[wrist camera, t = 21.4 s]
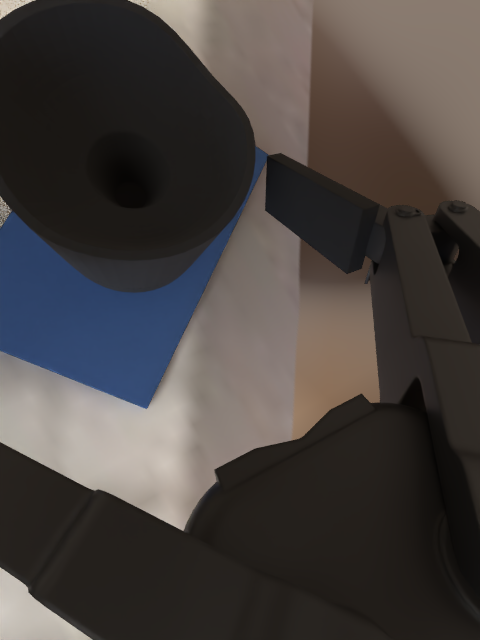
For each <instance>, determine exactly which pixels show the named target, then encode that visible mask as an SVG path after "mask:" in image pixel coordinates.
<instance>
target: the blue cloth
mask: <svg viewBox="0 0 480 640" xmlns="http://www.w3.org/2000/svg"><path fill="white" fill-rule="evenodd" d="M255 152H256V161H255V168H254V175H253V178H252V182H251V185H250V189H249V191H248V193H247V196H246V198H245V200H244V202H243V204H242V206H241V207H240V209H239V210H238V212H237V213H236V215H235V216H234V218H233V219H232V220H231V221H230V222H229V223H228V225H227V226H226V227H225V228H224V229H223V230H222V231H221V233H220V234H219V235H218V236H217V237H216V238H215V239H214V240H213V242H212V243H211V244H210V245H209V246H208V247H207V248H206V249H205V251H204V252H203V253H202V254H201V255H200V256H199V257H198V258H197V260H196V261H195V262H194V263H193V264H192V265H191V266H190V267H189V268H188V269H187V270H186V271H185V272H184V273H183V274H182V275H181V276H180V277H178V278H177V279H176V280H174V281H173V282H171V283H170V284H168V285H166V286H163V287H161V288H158V289H155V290H152V291H147V292H137V293H130V292H121V291H115V290H112V289H109V288H105V287H103V286H101V285H99V284H96V283H94V282H93V281H91V280H90V279H88V278H86V277H85V276H84V275H82V274H81V273H80V272H79V271H77V270H76V269H75V268H74V267H72V266H71V265H70V264H69V263H68V262H66V261H65V260H64V259H63V258H62V257H61V256H60V255H59V254H58V253H57V252H56V251H54V250H53V249H52V248H51V247H50V246H49V245H48V244H47V243H46V242H45V241H43V240H42V239H41V238H40V237H39V236H38V235H37V234H36V233H35V232H34V231H32V230H31V229H30V228H29V227H28V226H27V225H26V224H25V223H24V222H23V221H22V220H21V219H20V218H19V217H18V216H17V215H16V214H15V213H14V212H13V211H12V212H11V213H10V215H9V216H8V218H7V219H6V221H5V222H4V224H3V225H2V227H1V228H0V351H2V352H5V353H7V354H10V355H12V356H15V357H17V358H20V359H22V360H25V361H27V362H30V363H32V364H35V365H37V366H40V367H42V368H45V369H47V370H50V371H52V372H55V373H57V374H60V375H62V376H65V377H67V378H70V379H72V380H75V381H78V382H80V383H83V384H85V385H88V386H90V387H93V388H95V389H98V390H100V391H103V392H105V393H108V394H110V395H113V396H115V397H118V398H120V399H123V400H125V401H128V402H130V403H133V404H135V405H138V406H140V407H143V408H145V409H147V408H148V406H149V404H150V402H151V400H152V397H153V395H154V393H155V391H156V389H157V387H158V385H159V383H160V381H161V379H162V377H163V375H164V373H165V370H166V368H167V366H168V364H169V362H170V360H171V358H172V356H173V354H174V352H175V350H176V348H177V346H178V343H179V341H180V339H181V337H182V335H183V333H184V331H185V329H186V327H187V325H188V323H189V321H190V319H191V316H192V314H193V312H194V310H195V308H196V306H197V304H198V302H199V300H200V298H201V296H202V294H203V292H204V289H205V287H206V285H207V283H208V281H209V279H210V277H211V275H212V273H213V271H214V269H215V267H216V265H217V262H218V260H219V258H220V256H221V254H222V252H223V250H224V248H225V246H226V244H227V242H228V240H229V238H230V235H231V233H232V231H233V229H234V227H235V225H236V223H237V221H238V219H239V217H240V215H241V213H242V211H243V208H244V206H245V204H246V202H247V200H248V198H249V196H250V194H251V192H252V190H253V188H254V186H255V183H256V181H257V179H258V177H259V175H260V173H261V171H262V169H263V167H264V165H265V163H266V161H267V156H269V155H268V154H266V153H265V152H263V151H262V150H260V149H259V148H257V147H256V146H255Z"/></svg>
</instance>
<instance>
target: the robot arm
mask: <svg viewBox="0 0 480 640" xmlns="http://www.w3.org/2000/svg"><path fill="white" fill-rule="evenodd" d="M265 211H267V212H268V213H269V214H271V215H272V216H273V217H274V218H276V219H277V220H278V221H280V222H281V223H282V224H283V225H285V226H286V227H287V228H288V229H290V230H291V231H292V232H294V233H295V234H296V235H297V236H299V237H300V238H301V239H303V240H304V241H305V242H306V243H308V244H309V245H310V246H312V247H313V248H314V249H315V250H317V251H318V252H319V253H321V254H322V255H323V256H324V257H326V258H327V259H328V260H330V261H331V262H332V263H333V264H335V265H336V266H337V267H338V268H340V269H341V270H342V271H344V272H345V273H346V274H348V273H351V272H354V271H356V270H359V269H361V268H362V265H363V261H364V258H365V256H367V257H368V258H370V259H371V260H372V261H371V265H370V268H369V271H368V274H367V277H366V280H365V284H367V283H368V281H369V280H370V283H371V295H372V307H373V319H374V330H375V341H376V354H377V366H378V377H379V388H380V403H370V402H369V401H368V400H367V399H366V398H365V397H364V396H363V395H362V394H360V395H358V396H356V397H354V398H352V399H350V400H348V401H346V402H344V403H343V404H341V405H339V406H337V407H335V408H333V409H331V410H330V411H329V412H328V413H326V415H324V416H323V417H322V418H321V419H320V420H319V421H318V422H317V423H316V424H315V425H314V426H313V427H312V428H311V429H310V430H309V431H308V432H307V433H306V434H305V435H304V436H303V437H302V438H300V439H297V440H292V441H288V442H283V443H279V444H274V445H269V446H265V447H260V448H256V449H254V450H252V451H250V452H248V453H246V454H244V455H242V456H240V457H238V458H236V459H234V460H232V461H230V462H228V463H226V464H224V465H223V466H221V467H219V468H217V469H215V476H216V481H217V482H216V483H215V484H214V485H213V486H212V487H211V488H210V489H209V490H208V491H207V492H206V493H205V494H204V496H203V497H202V498H201V499H200V501H199V502H198V504H197V505H196V507H195V508H194V510H193V512H192V514H191V516H190V518H189V520H188V522H187V524H186V526H185V529H184V531H182V530H180V529H178V528H176V527H174V526H172V525H170V524H168V523H166V522H164V521H162V520H160V519H158V518H156V517H155V516H153V515H151V514H149V513H147V512H145V511H143V510H141V509H139V508H137V507H135V506H133V505H131V504H129V503H127V502H125V501H124V500H122V499H120V498H118V497H116V496H114V495H111V494H109V493H107V492H105V491H102V490H96V491H94V490H91V489H89V488H87V487H85V486H83V485H81V484H79V483H77V482H75V481H73V480H71V479H69V478H67V477H65V476H63V475H62V474H60V473H58V472H56V471H54V470H52V469H50V468H48V467H46V466H44V465H42V464H41V463H39V462H37V461H35V460H33V459H31V458H29V457H27V456H25V455H23V454H21V453H19V452H18V451H16V450H14V449H12V448H10V447H8V446H6V445H4V444H2V443H0V567H1V568H2V569H4V570H5V571H7V572H8V573H10V574H11V575H12V576H14V577H15V578H17V579H18V580H20V581H21V582H22V583H24V584H25V585H26V586H27V587H28V592H29V593H30V594H31V595H32V596H33V597H34V598H35V599H36V600H37V601H39V602H40V603H41V604H43V605H44V606H45V607H47V608H48V609H50V610H51V611H52V612H54V613H55V614H57V615H58V616H60V617H61V618H63V619H64V620H65V621H67V622H68V623H70V624H71V625H73V626H74V627H75V628H77V629H78V630H80V631H81V632H83V633H84V634H86V635H87V636H88V637H90V638H91V639H93V640H480V211H478V210H477V209H476V208H475V207H473V206H471V205H469V204H466V203H465V202H463V201H457V200H456V201H445V202H442V203H440V205H439V207H438V209H437V212H436V214H435V215H424V213H423V212H422V211H421V210H419V209H417V208H414V207H411V206H406V205H396V206H391V207H389V208H388V209H387V208H385V207H383V206H382V205H380V204H377V203H376V202H374V201H372V200H370V199H368V198H366V197H364V196H362V195H360V194H358V193H357V192H355V191H353V190H351V189H348V188H347V187H345V186H343V185H341V184H339V183H337V182H335V181H333V180H331V179H329V178H327V177H325V176H324V175H322V174H320V173H318V172H316V171H314V170H312V169H310V168H308V167H306V166H304V165H302V164H301V163H299V162H297V161H295V160H293V159H291V158H289V157H287V156H285V155H283V154H281V153H279V154H274V155H269V156H267V174H266V202H265ZM458 249H459V255H458V258H457V260H456V261H455V260H454V257H455V255H456V253H457V251H458Z"/></svg>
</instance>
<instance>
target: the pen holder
mask: <svg viewBox="0 0 480 640" xmlns="http://www.w3.org/2000/svg"><path fill="white" fill-rule="evenodd" d="M255 161H256V152H255V140H254V133H253V129H252V127H251V124H250V121H249V118H248V117H247V115H246V113H245V112H244V110H243V109H242V107H241V106H240V105H239V104H238V102H237V101H236V100H235V99H234V98H233V97H232V96H231V94H230V93H229V92H228V91H227V90H226V89H225V88H224V87H223V86H222V85H221V84H220V83H219V82H218V81H217V80H216V79H215V78H214V77H213V76H212V74H211V73H210V72H209V71H208V70H207V68H206V67H205V66H204V65H203V64H202V62H201V61H200V60H199V59H198V57H197V56H196V55H195V54H194V53H193V51H192V50H191V49H190V48H189V47H188V45H187V44H186V43H185V42H184V41H183V40H182V39H181V38H180V37H179V35H178V34H177V33H176V32H175V31H174V30H173V29H172V28H171V27H169V26H168V25H167V24H166V23H165V22H164V21H163V20H162V19H161V18H160V17H158V16H156V15H155V14H153V13H152V12H150V11H149V10H147V9H145V8H144V7H142V6H140V5H137V4H135V3H132V2H130V1H128V0H36V1H32V2H30V3H28V4H26V5H23V6H21V7H19V8H17V9H15V10H13V11H12V12H11V13H9V14H8V15H6V16H5V17H3V18H2V19H0V196H1V197H2V198H3V200H4V201H5V202H6V204H7V205H8V206H9V207H10V209H11V210H12V211H13V212H14V213H15V214H16V215H17V216H18V217H19V218H20V219H21V220H22V221H23V222H24V223H25V224H26V225H27V226H28V227H29V228H30V229H31V230H32V231H34V232H35V233H36V234H37V235H38V236H39V237H40V238H41V239H42V240H43V241H45V242H46V243H47V244H48V245H49V246H50V247H51V248H52V249H53V250H54V251H56V252H57V253H58V254H59V255H60V256H61V257H62V258H63V259H64V260H65V261H66V262H68V263H69V264H70V265H71V266H72V267H74V268H75V269H76V270H77V271H79V272H80V273H81V274H82V275H84V276H85V277H86V278H88V279H90V280H91V281H93V282H94V283H96V284H99V285H101V286H103V287H105V288H109V289H112V290H115V291H121V292H130V293H137V292H147V291H152V290H155V289H158V288H161V287H163V286H166V285H168V284H170V283H171V282H173V281H174V280H176V279H177V278H178V277H180V276H181V275H182V274H183V273H184V272H185V271H186V270H187V269H188V268H189V267H190V266H191V265H192V264H193V263H194V262H195V261H196V260H197V258H198V257H199V256H200V255H201V254H202V253H203V252H204V251H205V249H206V248H207V247H208V246H209V245H210V244H211V243H212V242H213V240H214V239H215V238H216V237H217V236H218V235H219V234H220V233H221V231H222V230H223V229H224V228H225V227H226V226H227V225H228V223H229V222H230V221H231V220H232V219H233V218H234V216H235V215H236V213H237V212H238V210H239V209H240V207H241V206H242V204H243V202H244V200H245V198H246V196H247V193H248V191H249V189H250V185H251V182H252V178H253V175H254V168H255Z"/></svg>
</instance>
